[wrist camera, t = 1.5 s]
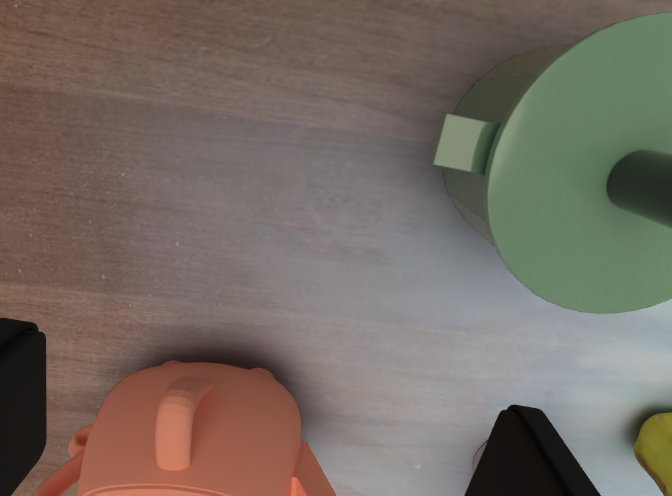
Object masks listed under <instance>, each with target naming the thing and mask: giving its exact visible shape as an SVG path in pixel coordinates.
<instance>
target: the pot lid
mask: <svg viewBox="0 0 672 496" xmlns="http://www.w3.org/2000/svg"><path fill="white" fill-rule="evenodd" d="M483 193H484V212H485V218H486V225H487V228H488V231H489V234H490V238H491V241H492V243H493V245H494V247H495V249H496V251H497V253H498V255H499V257H500V259H501V260H502V261H503V263H504V264H505V266H506V267H507V269H508V270H509V271H510V272H511V273H512V274H513V275H514V276H515V277H516V278H517V279H518V280H519V281H520V282H521V283H522V284H523V285H524V286H525V287H527V288H528V289H529V290H530V291H532V292H533V293H534V294H536V295H537V296H539V297H541V298H543V299H545V300H546V301H548V302H550V303H553V304H555V305H558V306H561V307H563V308H567V309H571V310H575V311H579V312H588V313H597V314H600V313H621V312H628V311H634V310H638V309H643V308H647V307H651V306H653V305H656V304H659V303H662V302H665V301H667V300H670V299H672V13H658V14H651V15H644V16H639V17H635V18H631V19H628V20H624V21H621V22H617V23H614V24H611V25H609V26H606V27H604V28H602V29H599V30H597V31H595V32H592V33H590V34H589V35H587V36H585V37H583V38H582V39H580V40H578V41H577V42H575V43H573V44H571V45H570V46H569V47H567V48H566V49H565V50H563V51H562V52H561V53H559V54H558V55H557V56H555V57H554V58H553V59H551V60H550V61H549V62H548V63H547V64H546V65H545V66H544V67H543V68H542V69H541V70H540V71H539V72H538V73H537V74H536V75H535V76H534V77H533V78H532V79H531V80H530V82H529V83H528V84H527V85H526V86H525V88H524V89H523V90H522V91H521V92H520V94H519V95H518V97H517V98H516V100H515V101H514V103H513V104H512V106H511V107H510V109H509V110H508V112H507V114H506V116H505V118H504V119H503V121H502V123H501V125H500V127H499V129H498V131H497V134H496V137H495V139H494V142H493V145H492V147H491V150H490V154H489V158H488V162H487V166H486V171H485V180H484V189H483Z"/></svg>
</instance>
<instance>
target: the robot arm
mask: <svg viewBox="0 0 672 496" xmlns="http://www.w3.org/2000/svg"><path fill="white" fill-rule="evenodd" d="M46 439H47V438H46V336H45V334H44V333H43V332H39V330H38V327H37V325H36V324H35V323H32V322H26V321H20V320H14V319H9V318H0V496H11V495H12V494H13V492H14V491H15V490H16V488H17V487H18V486H19V485H20V483H21V482H22V481H23V480H24V478H25V477H26V476H27V474H28V473H29V472H30V471H31V469H32V468H33V467H34V465H35V464H36V463H37V462H38V460H39V459H40V457H41V455H42V453H43V451H44V448H45V445H46ZM465 496H601V495H600V494H599V492H598V491H597V490H596V488H595V487H594V485H593V484H592V482H591V481H590V479H589V478H588V476H587V475H586V474H585V472H584V471H583V469H582V468H581V466H580V465H579V463H578V462H577V460H576V459H575V457H574V456H573V455H572V453H571V452H570V450H569V449H568V447H567V446H566V444H565V443H564V441H563V440H562V438H561V437H560V436H559V434H558V433H557V431H556V430H555V428H554V427H553V425H552V424H551V422H550V421H549V419H548V418H547V417H546V415H545V414H544V413H543V412H542V410H540V409H537V408H531V407H526V406H520V405H511V406H509V407H508V409H507V410H502V411H501V412H500V414H499V415H498V418H497V420H496V422H495V425H494V427H493V429H492V432H491V434H490V437H489V439H488V441H487V444H486V446H485V448H484V451H483V453H482V455H481V458H480V460H479V463H478V465H477V467H476V470H475V472H474V474H473V477H472V479H471V481H470V484H469V486H468V488H467V491H466V493H465Z"/></svg>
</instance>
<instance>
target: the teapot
mask: <svg viewBox="0 0 672 496" xmlns="http://www.w3.org/2000/svg"><path fill="white" fill-rule="evenodd" d="M68 452H69V454H70V456H71V457H72V459H70V460H69V461H68V462H66V463H65V464H64V465H63V466H61V467H60V468H59V469H58V470H56V471H55V472H54V473H53V474H52V475H50V476H49V477H48V478H47V479H46V480H45V481H44V482H43V483H42V484H41V485H40V486H39V487H38V488H37V490H36V491H35V493H34V494H33V496H60V495H61V494H62V493H63V492H64V491H65V490H66V489H67V488H69V487H70V486H71V485H72V484H73V483H75V482H76V481H77V480H78V479H80V480H79V486H78V495H77V496H336V494H335V492H334V491H333V489H332V487H331V485H330V483H329V482H328V480H327V478H326V476H325V474H324V473H323V471H322V469H321V467H320V465H319V464H318V462H317V460H316V458H315V456H314V455H313V453H312V451H311V449H310V447H309V445H308V444H307V442H303V441H301V420H300V413H299V409H298V406H297V404H296V401H295V400H294V398H293V397H292V395H291V394H290V393H289V391H288V390H287V389H286V388H285V387H284V386H283V385H282V384H280V383H279V382H278V381H276V380H275V378H274V376H273V374H272V373H271V372H269V371H268V370H266V369H263V368H252V369H250V370H247V369H243V368H239V367H235V366H230V365H225V364H218V363H205V362H193V363H183V362H180V361H176V360H172V361H168V362H165V363H164V364H162V365H161V366H156V367H152V368H147V369H144V370H141V371H138V372H136V373H134V374H131V375H129V376H127V377H126V378H124V379H123V380H122V381H120V382H119V383H118V384H116V385H115V386H114V388H113V389H112V390H111V391H110V393H109V394H108V396H107V397H106V399H105V400H104V402H103V404H102V406H101V408H100V410H99V412H98V414H97V417H96V419H95V421H94V424H93V425H91V426H86V427H83V428H81V429H80V430H78V431H77V432H76V433H75V434H74V436H73V437H72V438H71V441H70V443H69V448H68Z"/></svg>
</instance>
